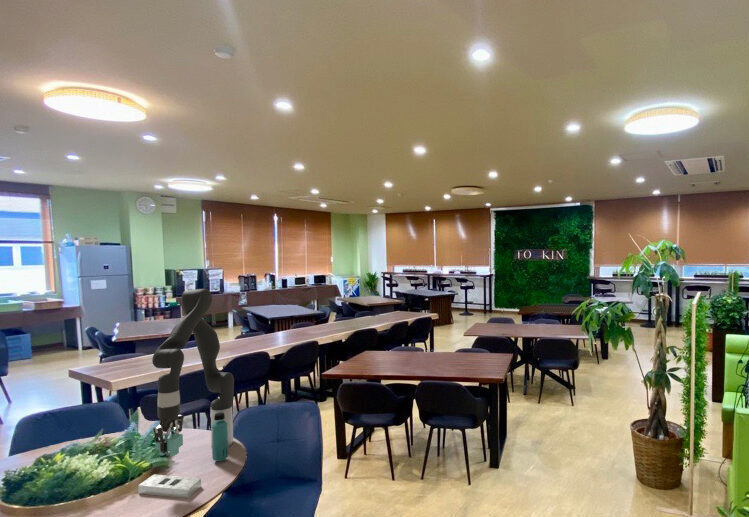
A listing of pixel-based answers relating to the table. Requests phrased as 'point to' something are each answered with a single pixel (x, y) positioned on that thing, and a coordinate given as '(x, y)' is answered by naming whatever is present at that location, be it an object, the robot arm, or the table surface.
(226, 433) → the beverage bottle
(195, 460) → the table surface
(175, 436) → the clip
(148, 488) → the pale grey flat slab
